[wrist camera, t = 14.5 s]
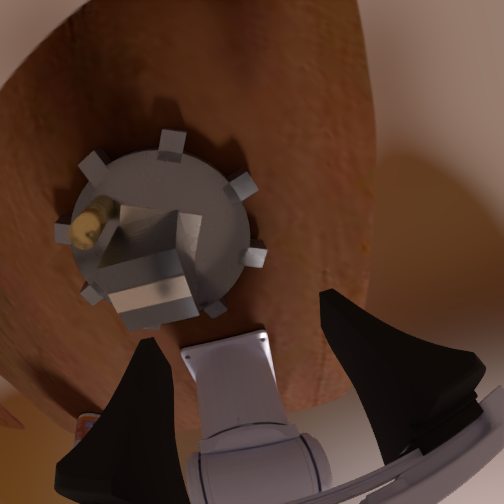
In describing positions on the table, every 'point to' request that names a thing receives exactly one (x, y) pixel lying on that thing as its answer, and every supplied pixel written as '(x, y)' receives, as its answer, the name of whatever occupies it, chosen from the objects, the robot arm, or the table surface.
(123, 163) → the sprocket
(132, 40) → the table surface
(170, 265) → the grooved silver cube
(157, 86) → the table surface
